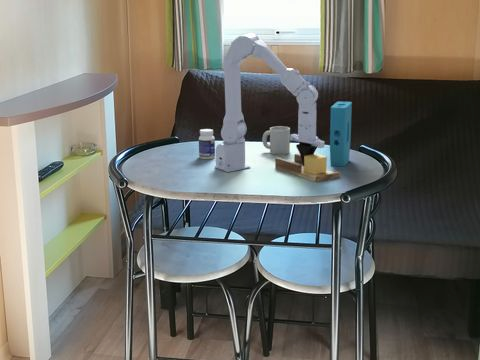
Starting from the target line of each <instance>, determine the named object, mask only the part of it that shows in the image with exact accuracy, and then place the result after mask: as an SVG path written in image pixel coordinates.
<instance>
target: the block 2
mask: <svg viewBox="0 0 480 360" xmlns="http://www.w3.org/2000/svg"><path fill="white" fill-rule="evenodd" d="M352 105H353V102H352V101H336V102H335V103H334V104H333V105H332V106H330V124H329V125H330V127H329V128H330V130H329V131H330V132H329V152H330V153H329V161H330V162H329V163H330V165H331V166H336V167H345V166H346V165H347V164H348V163H349V161H350V152H351V151H350V150H351V149H350V148H351V137H352Z"/></svg>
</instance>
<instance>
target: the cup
mask: <svg viewBox="0 0 480 360" xmlns="http://www.w3.org/2000/svg"><path fill="white" fill-rule="evenodd" d="M290 135H291V128H290V126H289V127H288V126H281V125H279V126H278V125H277V126H272V127H269V130H266V131H264V133H263V135H262V140H261V141H262V145H263V146H264V148H265V149H268V150H269V152H270V154H272V155H276V156H277V155H278V156H279V155H281V156H282V155H288V154H290V151H291V148H290V147H291V146H290V145H291V143H290V142H291V140H290ZM268 136H269V143H268V141H267V140H268Z"/></svg>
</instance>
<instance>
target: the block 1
mask: <svg viewBox="0 0 480 360" xmlns="http://www.w3.org/2000/svg"><path fill="white" fill-rule="evenodd" d="M327 157H328V156H325V155H322V154H318V153H314V154H312V155H307V156H304V171H305V172H308V173H311V174H314V175H315V174H319V173H324V172H326V170H327V166H328V165H327V164H328V163H327V160H328V159H327Z"/></svg>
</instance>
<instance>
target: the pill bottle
mask: <svg viewBox="0 0 480 360" xmlns="http://www.w3.org/2000/svg"><path fill="white" fill-rule="evenodd" d="M199 134H200V135H199V137H198V158H199V159H201V160H202V159H203V160H212V159H214V158H216V141H215V140H216V138H215V136H214V129H211V128H203V129H202V128H201V129H199Z"/></svg>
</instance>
